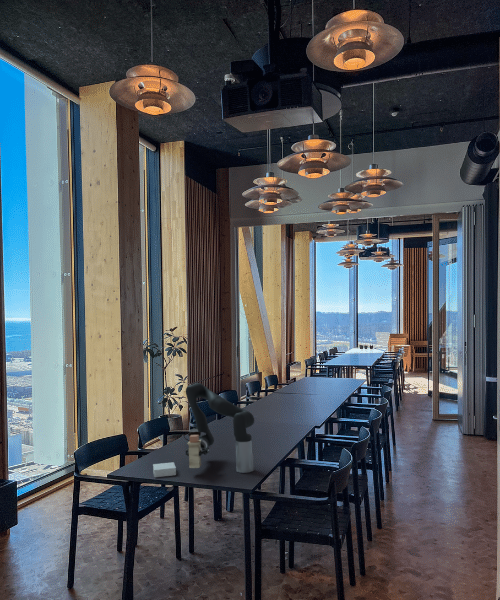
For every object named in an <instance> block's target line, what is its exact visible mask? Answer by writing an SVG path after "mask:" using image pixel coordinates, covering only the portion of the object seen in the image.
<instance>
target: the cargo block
mask: <svg viewBox="0 0 500 600" xmlns="http://www.w3.org/2000/svg"><path fill="white" fill-rule="evenodd" d="M189 440H190V442H198V441H199V435H191V436H190V437H189Z"/></svg>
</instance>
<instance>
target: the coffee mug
mask: <svg viewBox="0 0 500 600" xmlns="http://www.w3.org/2000/svg"><path fill="white" fill-rule="evenodd" d="M201 433H202V432H198V430H197V428H196V429H195V428H192V429H189V430H188V432H185V433H184V434H183V438H184V439H185V440H187V441H188V442H189V441H190V439H187V438H186V437H185V436H186V435H188V436H189V437H190V436H191V435H199V436H201Z"/></svg>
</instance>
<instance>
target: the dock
mask: <svg viewBox="0 0 500 600" xmlns="http://www.w3.org/2000/svg"><path fill="white" fill-rule="evenodd" d="M152 469H153V470H152V472H153V473H152V474H153V477H154V478H160V477H161V478H162V477H169V476H170V477H171V476H176V475H177V467H176V465H175V462H174V461H173V462H171V461H170V462H162V463H153V464H152Z"/></svg>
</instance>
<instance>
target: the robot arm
mask: <svg viewBox="0 0 500 600" xmlns="http://www.w3.org/2000/svg"><path fill="white" fill-rule="evenodd" d="M185 395H186V398H187V401H188V404H189V405H190V409H191V412H192V413H193V417H194V420H195V421H194V422H195V425H196V429H197V430H198V432H201V433H204V434H202V435H201V436H199V440H201V442H200V449H201V450H200V452H199V456H201V457H202V456H203V455H205V456H206V455H208V454H209V453H210V448H209V446H212V445H214V443H215V439H214V436H213V434H212V432H211V430H210V428H209V424H208V419H207V416H206V414H205V413H204V411H203V410H202V409H201V408H200V406H199V405H198V402H197V401H198V400H197V399H200V398H202V399H205V400H206V401H207V403H208V406H209V408H210V409H211V410H212V411H214V412H215V413H217V414H219V415H222V416H225V417H229V418H232V425H233V426H232V428H233V435H234V438H235V464H236V465H235V466H236V472H237V473H243V474H247V473H251V472H254V454H253V448H252V447H253V442H252V439H253V437H252V434H250V433H248V431H247V428H250V427H252V426H253V425H254V424H255V417H254V415H253V414H252V413H251V412H250V411H248V410H246V409H243V408H241V407H239V406H238V405H235V404H234V403H232V402H230V401H228V400H227V399H226V398H224V397H222V396H220V395H218V394H217V393H215V392H214V391H212V390H211V389H209V388H208V387H207V386H205V384H203V383H200V382H195V383H192V384H190V385H188V386H186V388H185ZM185 455H186V456H187V457H188V458H189V447H186V448H185Z"/></svg>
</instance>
